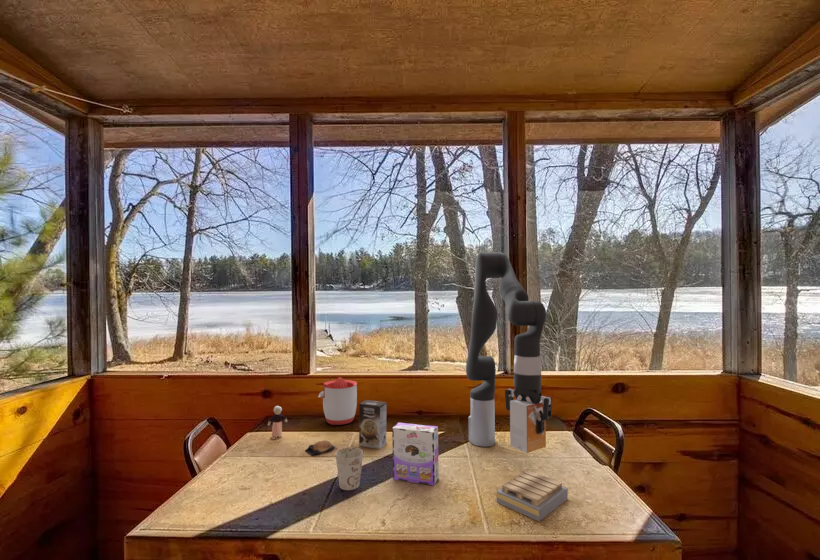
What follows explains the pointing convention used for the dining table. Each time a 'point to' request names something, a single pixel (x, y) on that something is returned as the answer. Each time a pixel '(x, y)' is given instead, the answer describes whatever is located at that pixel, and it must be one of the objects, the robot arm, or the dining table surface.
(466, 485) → the dining table surface
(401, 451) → the candy box
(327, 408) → the citrus juicer
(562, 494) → the rack
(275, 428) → the grandmother figurine
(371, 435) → the coffee box
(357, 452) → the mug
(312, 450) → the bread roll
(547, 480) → the pallet
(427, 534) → the dining table surface
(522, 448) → the small box
